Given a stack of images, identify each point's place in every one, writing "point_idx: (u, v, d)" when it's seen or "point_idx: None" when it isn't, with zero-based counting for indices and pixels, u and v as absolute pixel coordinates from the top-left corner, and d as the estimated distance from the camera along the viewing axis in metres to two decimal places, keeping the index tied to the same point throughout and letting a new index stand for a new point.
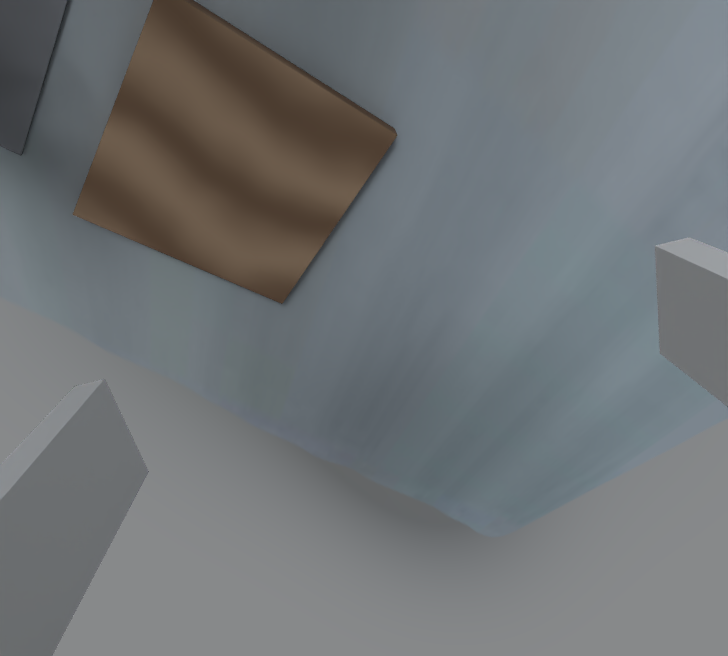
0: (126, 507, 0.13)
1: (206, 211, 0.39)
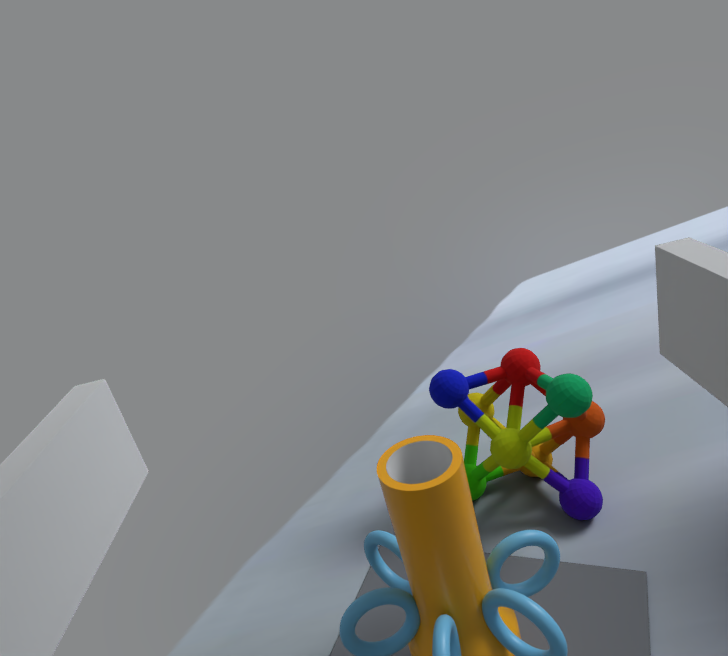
0: (126, 507, 0.13)
1: None
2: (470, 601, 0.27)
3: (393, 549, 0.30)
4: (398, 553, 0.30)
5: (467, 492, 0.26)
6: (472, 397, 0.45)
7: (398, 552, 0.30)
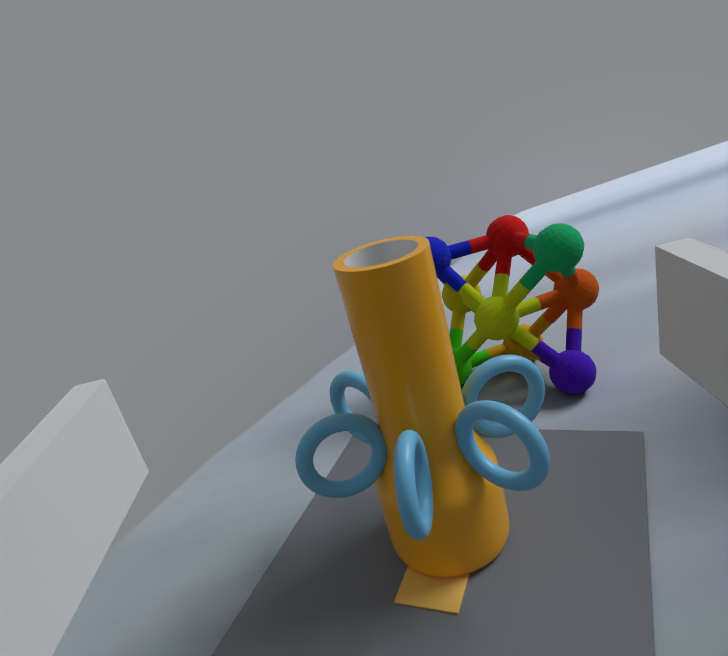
0: (126, 507, 0.13)
1: None
2: (441, 419, 0.24)
3: (359, 385, 0.27)
4: (364, 389, 0.27)
5: (435, 286, 0.22)
6: None
7: (364, 387, 0.27)
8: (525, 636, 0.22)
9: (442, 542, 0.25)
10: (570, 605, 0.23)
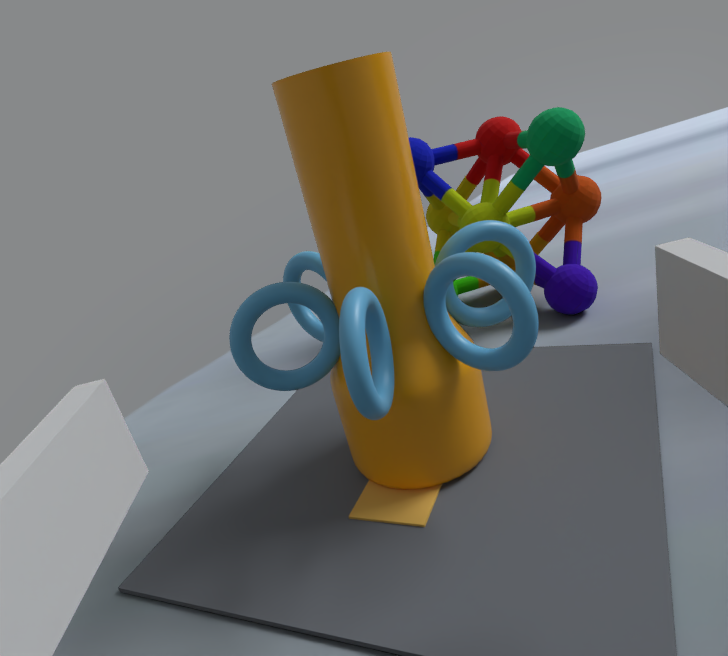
0: (126, 507, 0.13)
1: None
2: (405, 283, 0.19)
3: (314, 264, 0.23)
4: (319, 268, 0.23)
5: (398, 108, 0.18)
6: None
7: (320, 266, 0.23)
8: (505, 547, 0.18)
9: (407, 441, 0.20)
10: (562, 513, 0.19)
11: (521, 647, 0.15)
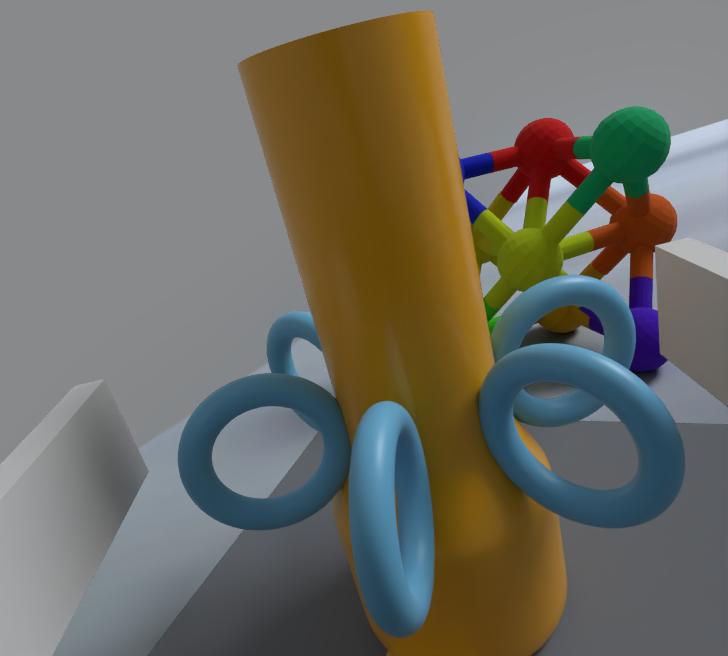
0: (126, 507, 0.13)
1: None
2: (452, 384, 0.12)
3: (309, 333, 0.16)
4: (317, 339, 0.16)
5: (446, 105, 0.11)
6: None
7: (318, 336, 0.16)
8: None
9: (451, 619, 0.13)
10: None
11: None
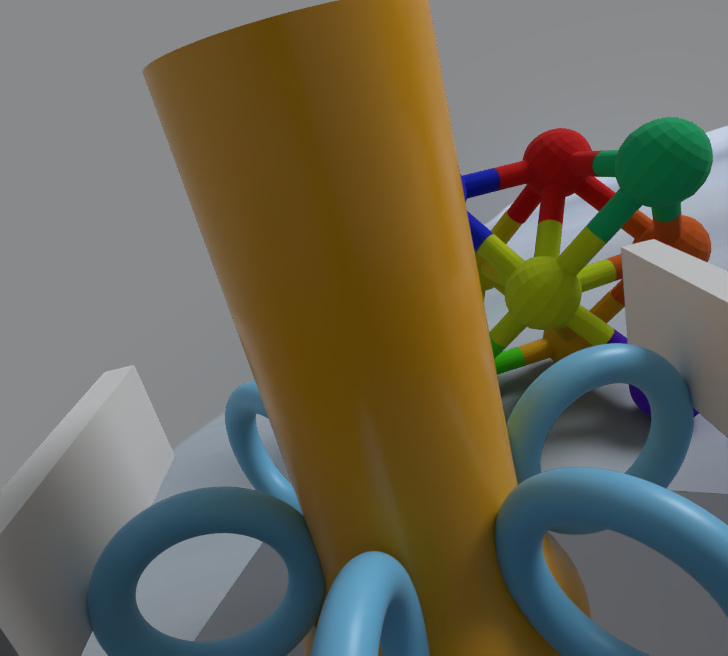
0: (156, 489, 0.13)
1: None
2: (459, 515, 0.09)
3: None
4: None
5: (446, 130, 0.08)
6: None
7: None
8: None
9: None
10: None
11: None
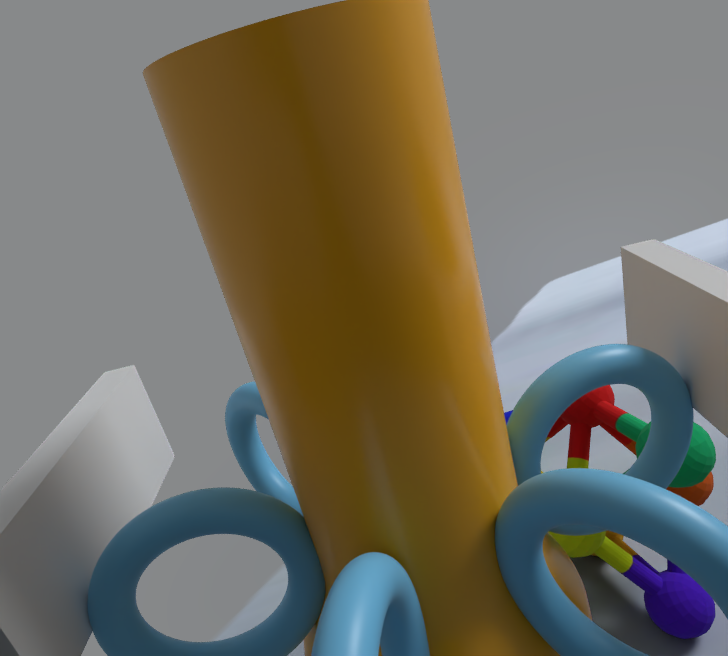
0: (155, 489, 0.13)
1: None
2: (459, 515, 0.09)
3: None
4: None
5: (446, 131, 0.08)
6: None
7: None
8: None
9: None
10: None
11: None
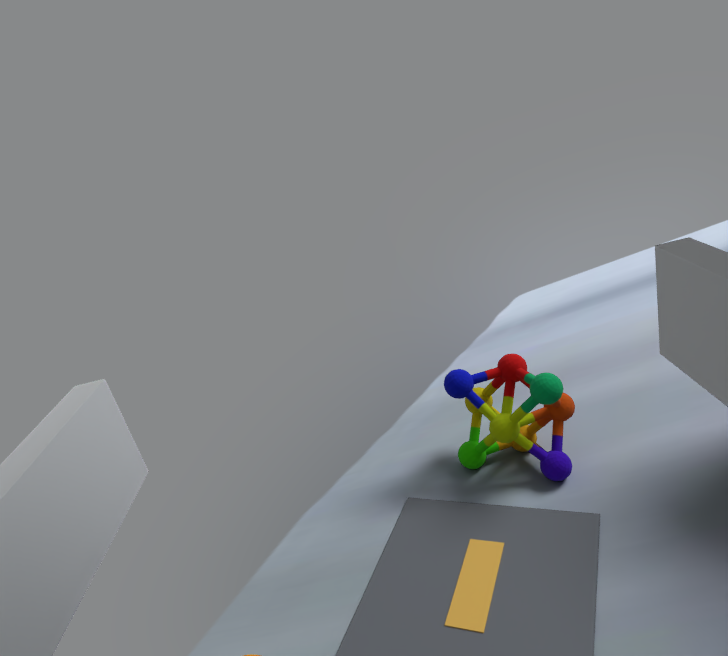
0: (126, 507, 0.13)
1: None
2: None
3: None
4: None
5: None
6: (476, 390, 0.59)
7: None
8: (522, 646, 0.40)
9: None
10: (548, 628, 0.40)
11: None
